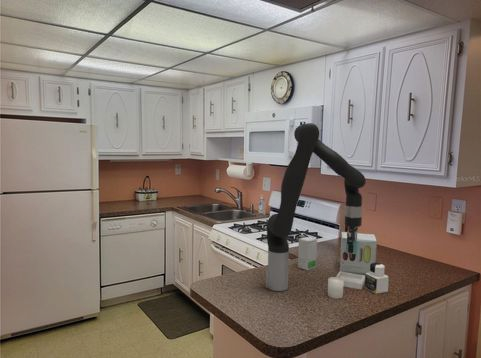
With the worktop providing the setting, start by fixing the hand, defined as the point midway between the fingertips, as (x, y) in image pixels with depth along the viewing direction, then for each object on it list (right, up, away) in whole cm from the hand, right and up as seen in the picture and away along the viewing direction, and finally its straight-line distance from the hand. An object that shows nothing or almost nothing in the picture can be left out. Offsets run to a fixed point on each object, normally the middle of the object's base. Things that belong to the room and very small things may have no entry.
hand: (351, 251), depth 165 cm
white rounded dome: (-11, -17, -13) cm, 24 cm away
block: (0, 0, 0) cm, 0 cm away
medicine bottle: (+9, -16, -6) cm, 20 cm away
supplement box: (+9, -14, +21) cm, 27 cm away
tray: (0, -15, +2) cm, 15 cm away
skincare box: (-17, -13, +22) cm, 31 cm away
